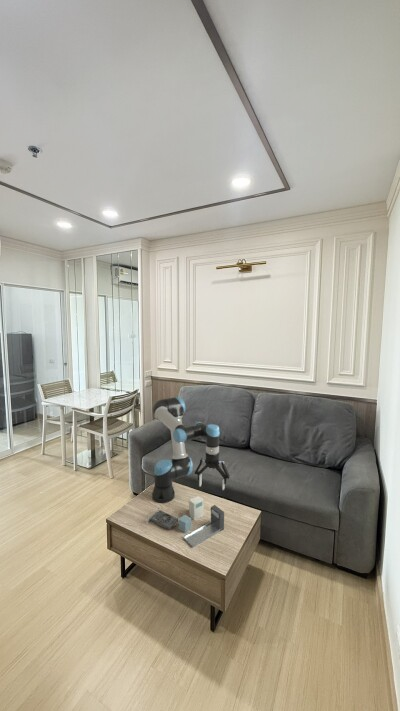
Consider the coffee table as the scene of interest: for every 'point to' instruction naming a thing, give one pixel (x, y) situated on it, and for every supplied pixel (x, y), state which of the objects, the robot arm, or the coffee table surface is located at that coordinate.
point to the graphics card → (163, 519)
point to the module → (196, 507)
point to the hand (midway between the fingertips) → (211, 487)
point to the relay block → (184, 523)
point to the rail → (207, 528)
